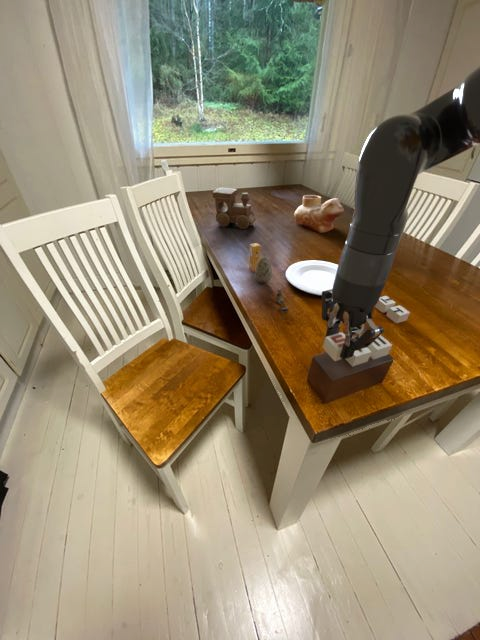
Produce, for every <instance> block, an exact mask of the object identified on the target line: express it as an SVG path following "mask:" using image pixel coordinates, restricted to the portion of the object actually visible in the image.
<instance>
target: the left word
mask: <svg viewBox="0 0 480 640" xmlns="http://www.w3.org/2000/svg"><path fill="white" fill-rule="evenodd" d="M392 347H393V344H392V343H391V342H390V341H388V340H387V339H386V338H385V337H384V336H383V335H382V334H381V335H380V336H379V337H378V338H377V339H376V340H375V341H374V342H372V343H371V344H370V345H369V346H368V347H366V348H363V349H360V350H357V351H355V352H354V355H353V356H352V357H350V358H347V359H345V360H346V361H347V362H348V363H349V364H350V365H351V366H352V367H353V366H356V365H359V364H362V363H365V362H367V361H368V359H369V357H371V358H372V359H373V360H374V359H377V358H380V357H383V356H386V355H388V354H389V353H390V351H391V349H392Z"/></svg>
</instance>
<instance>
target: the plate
mask: <svg viewBox="0 0 480 640" xmlns="http://www.w3.org/2000/svg"><path fill="white" fill-rule="evenodd" d="M337 268H338V264H337V263H334V262H330V261H324V260H314V259H312V260H311V259H310V260H302V261H298V262H295V263H292V264H291V265H289V266H288V268H286V271H285V278H286V280H287V282H289V284H290V285H291V286H293V287H295V288H296V289H297V290H299V291H302V292H303V293H308V294H310V295H316V296H321V297H322V292H323V291H326V290H330V289H332V288H333V284H334V280H335V276H336V272H337Z"/></svg>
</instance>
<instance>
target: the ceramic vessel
mask: <svg viewBox="0 0 480 640" xmlns="http://www.w3.org/2000/svg"><path fill="white" fill-rule="evenodd" d="M344 212H345V209H344V205H342V204H341V200H340V199H339V198H338V197H334V198H331V199H328V200H326V201H325V202H324V203H322V196H321V195H315V194H304V195H303V196H302V204H301V205H299V206H298V207H297V208H296V210H295V211H294V213H293V216H294V218H295V221H296V224H297V225H298V226H300V227H303V228H307V229H311V230H312V231H315V232H317V233H321V234H323V233H326V232H330V231H331V230H333V229H334V228H335V225H334V223H333V222H334V220H335V219H336V218H339V217H340V216H341V215H342V214H343V213H344Z"/></svg>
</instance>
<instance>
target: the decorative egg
mask: <svg viewBox="0 0 480 640" xmlns="http://www.w3.org/2000/svg"><path fill="white" fill-rule="evenodd" d="M272 276H273V266H272V262H271V260H270V259H269V257H267V256H262V257H260V260H259V261H258V263H257V266H256V269H255V271H254V277H255V279H256V281H257V282H258V283H259V284H267V283H269V282H270V280H271V279H272Z"/></svg>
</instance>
